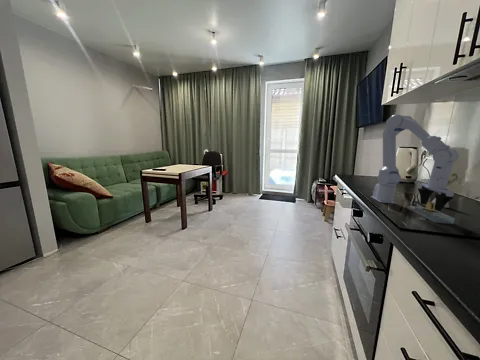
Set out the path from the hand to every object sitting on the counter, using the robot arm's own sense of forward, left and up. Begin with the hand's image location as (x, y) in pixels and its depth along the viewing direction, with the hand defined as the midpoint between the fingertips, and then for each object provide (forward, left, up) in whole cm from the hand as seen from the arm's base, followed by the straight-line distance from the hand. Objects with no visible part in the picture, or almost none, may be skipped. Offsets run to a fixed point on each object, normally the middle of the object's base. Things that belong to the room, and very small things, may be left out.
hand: (430, 207), depth 89 cm
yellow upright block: (0, 0, -4) cm, 4 cm away
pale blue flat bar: (0, 0, -4) cm, 4 cm away
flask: (-17, +19, -4) cm, 26 cm away
